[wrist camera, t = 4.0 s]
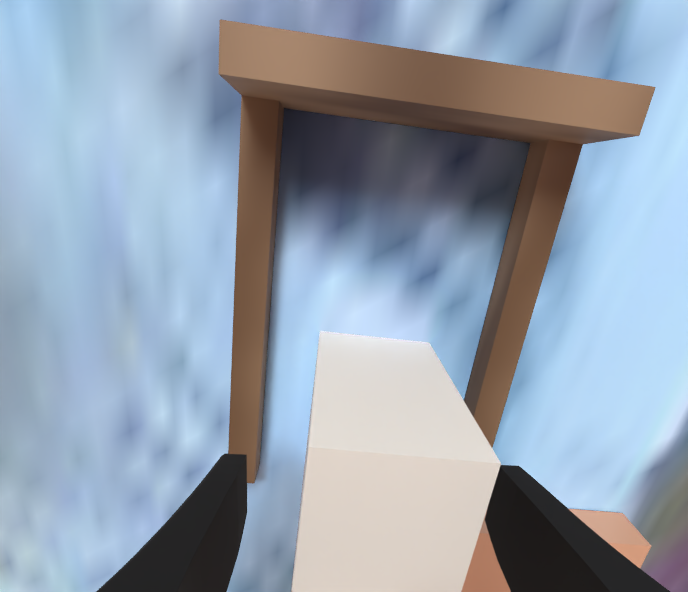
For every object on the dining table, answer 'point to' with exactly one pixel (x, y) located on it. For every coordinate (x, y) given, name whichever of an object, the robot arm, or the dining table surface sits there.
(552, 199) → the frame
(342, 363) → the block
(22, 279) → the dining table surface
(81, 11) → the dining table surface
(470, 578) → the tile
